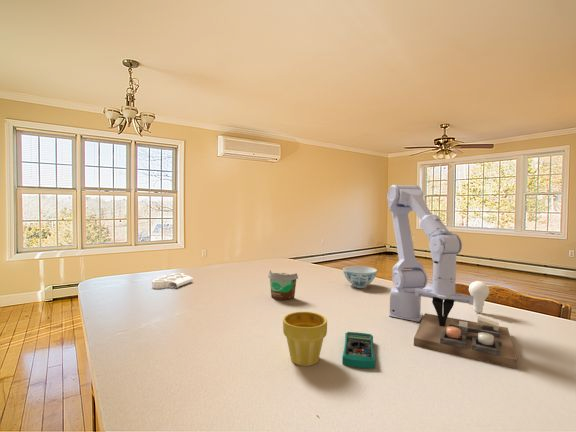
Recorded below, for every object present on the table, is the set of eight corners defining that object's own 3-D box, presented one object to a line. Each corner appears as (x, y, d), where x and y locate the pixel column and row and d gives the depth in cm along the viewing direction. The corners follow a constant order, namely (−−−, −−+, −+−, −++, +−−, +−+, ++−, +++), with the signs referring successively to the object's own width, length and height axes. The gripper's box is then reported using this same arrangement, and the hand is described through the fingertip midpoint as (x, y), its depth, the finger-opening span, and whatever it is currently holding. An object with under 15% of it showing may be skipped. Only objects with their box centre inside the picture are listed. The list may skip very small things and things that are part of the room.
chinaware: (351, 280, 152) (351, 264, 152) (381, 285, 143) (381, 268, 143) (337, 286, 140) (337, 269, 140) (369, 292, 131) (369, 274, 131)
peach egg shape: (445, 336, 79) (446, 329, 79) (446, 332, 82) (447, 325, 82) (460, 339, 78) (460, 332, 78) (460, 335, 81) (460, 328, 80)
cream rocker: (477, 324, 89) (478, 319, 88) (477, 320, 92) (478, 316, 92) (498, 331, 86) (499, 326, 86) (497, 327, 89) (498, 322, 89)
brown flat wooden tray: (413, 345, 82) (414, 332, 82) (424, 319, 101) (425, 308, 101) (516, 368, 71) (517, 353, 71) (507, 334, 90) (507, 322, 90)
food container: (262, 298, 120) (262, 273, 120) (269, 294, 126) (269, 270, 126) (292, 303, 116) (292, 276, 115) (297, 298, 122) (298, 273, 121)
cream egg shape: (478, 343, 76) (478, 335, 76) (477, 338, 79) (478, 331, 79) (493, 346, 74) (494, 338, 74) (493, 341, 77) (493, 334, 77)
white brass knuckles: (172, 291, 130) (143, 288, 135) (197, 281, 147) (171, 278, 152) (172, 283, 130) (143, 280, 135) (197, 274, 147) (171, 272, 152)
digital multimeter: (341, 368, 71) (342, 355, 71) (345, 340, 86) (345, 329, 85) (375, 372, 69) (375, 359, 69) (372, 343, 84) (373, 332, 84)
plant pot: (293, 374, 67) (294, 330, 67) (276, 353, 77) (276, 314, 76) (334, 365, 71) (335, 323, 71) (313, 346, 81) (313, 309, 80)
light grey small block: (458, 334, 84) (458, 325, 84) (459, 329, 87) (459, 320, 87) (466, 336, 83) (467, 327, 83) (467, 330, 86) (467, 322, 86)
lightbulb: (491, 316, 104) (493, 284, 104) (471, 315, 106) (472, 282, 105) (484, 310, 110) (485, 279, 110) (465, 309, 112) (466, 278, 111)
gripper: (414, 276, 87) (412, 324, 88) (474, 283, 80) (472, 336, 80) (417, 272, 93) (416, 316, 94) (474, 278, 86) (472, 327, 86)
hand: (442, 325), depth 88 cm, fingers closed
